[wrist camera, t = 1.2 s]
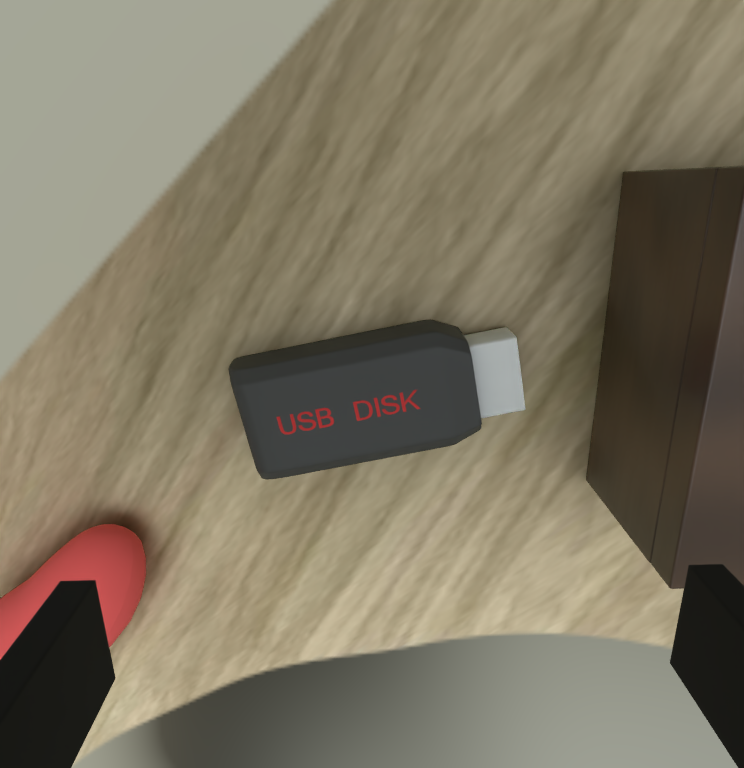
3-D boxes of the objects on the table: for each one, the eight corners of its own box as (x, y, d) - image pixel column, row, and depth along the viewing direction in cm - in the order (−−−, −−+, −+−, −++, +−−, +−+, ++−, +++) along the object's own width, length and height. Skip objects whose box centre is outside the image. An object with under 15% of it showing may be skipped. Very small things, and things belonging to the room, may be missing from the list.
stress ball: (193, 586, 31) (170, 610, 25) (35, 696, 29) (-31, 753, 23) (140, 505, 31) (105, 510, 25) (-19, 609, 29) (-99, 642, 23)
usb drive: (233, 358, 26) (219, 377, 23) (502, 304, 25) (518, 318, 22) (263, 461, 27) (253, 491, 25) (516, 413, 27) (533, 438, 24)
